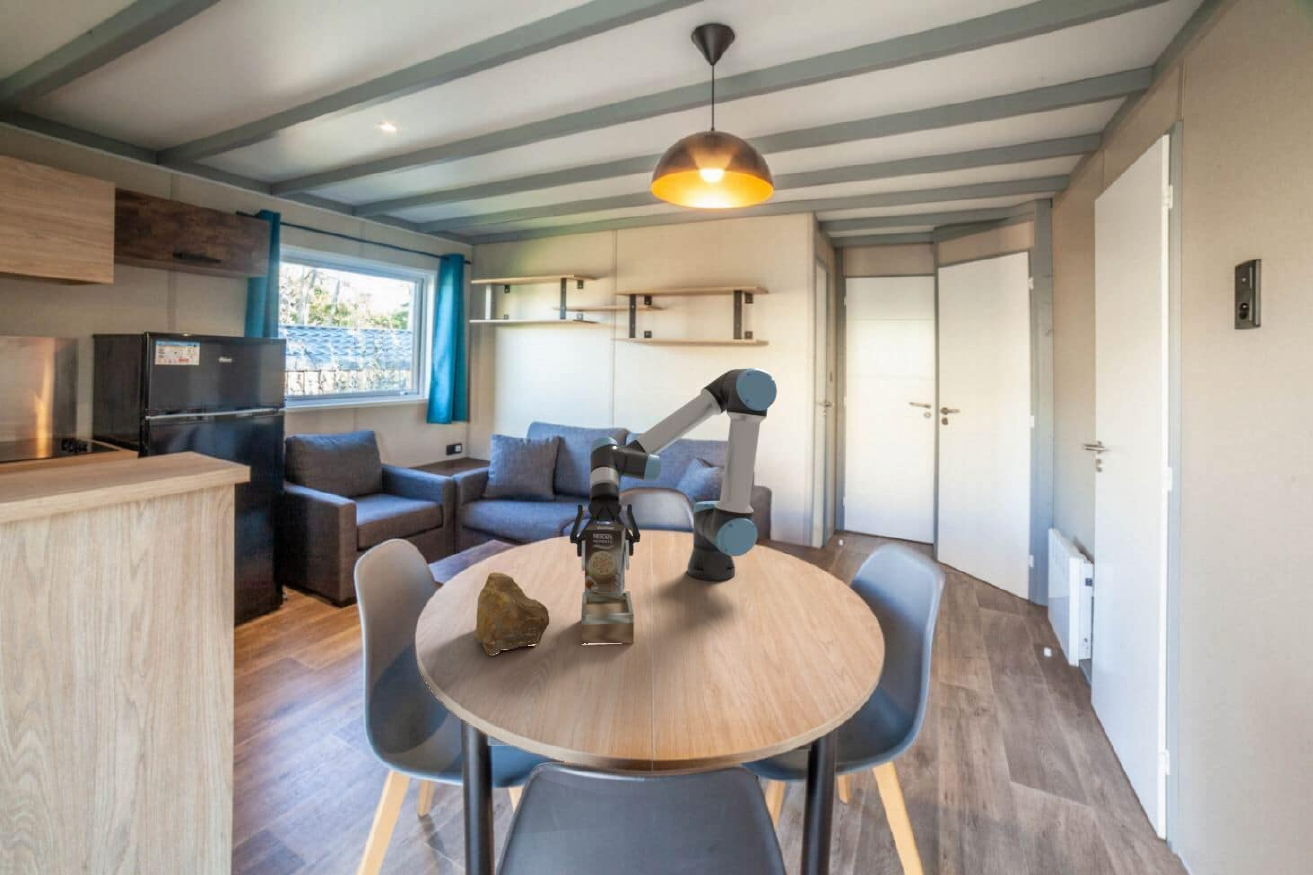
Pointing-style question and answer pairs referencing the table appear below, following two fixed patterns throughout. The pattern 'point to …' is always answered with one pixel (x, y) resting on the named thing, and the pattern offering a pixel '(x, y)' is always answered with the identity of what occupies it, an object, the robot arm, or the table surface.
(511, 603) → the rough brown rock
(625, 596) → the open wooden box
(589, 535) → the coffee box
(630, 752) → the table surface
